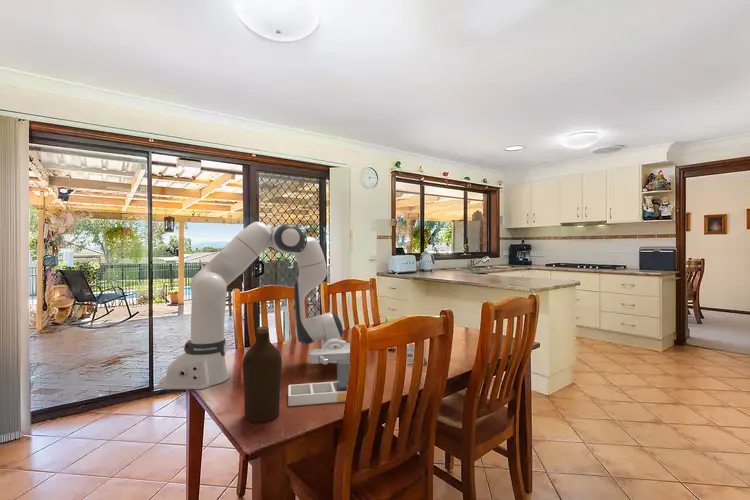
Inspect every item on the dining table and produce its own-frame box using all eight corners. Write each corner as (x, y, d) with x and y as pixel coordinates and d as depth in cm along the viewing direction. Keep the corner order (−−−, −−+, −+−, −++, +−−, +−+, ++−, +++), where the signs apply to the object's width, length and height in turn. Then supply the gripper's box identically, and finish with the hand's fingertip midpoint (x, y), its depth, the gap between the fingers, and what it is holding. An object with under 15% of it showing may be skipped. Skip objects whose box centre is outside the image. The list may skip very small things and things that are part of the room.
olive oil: (275, 424, 102) (275, 332, 101) (236, 423, 102) (236, 331, 102) (285, 408, 112) (286, 324, 112) (250, 407, 113) (251, 323, 112)
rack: (288, 406, 113) (288, 396, 113) (288, 394, 123) (288, 384, 123) (357, 400, 118) (357, 391, 118) (352, 389, 128) (352, 380, 128)
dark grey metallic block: (338, 399, 119) (339, 364, 119) (336, 393, 124) (337, 359, 124) (349, 398, 120) (350, 363, 120) (347, 392, 125) (347, 359, 125)
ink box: (424, 361, 160) (424, 333, 160) (425, 364, 155) (425, 336, 155) (404, 360, 160) (404, 333, 160) (405, 364, 156) (405, 335, 156)
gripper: (307, 344, 145) (309, 354, 131) (359, 341, 150) (366, 351, 136) (307, 360, 145) (309, 372, 132) (359, 357, 150) (366, 368, 136)
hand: (338, 361), depth 134 cm, fingers open, 8 cm apart
